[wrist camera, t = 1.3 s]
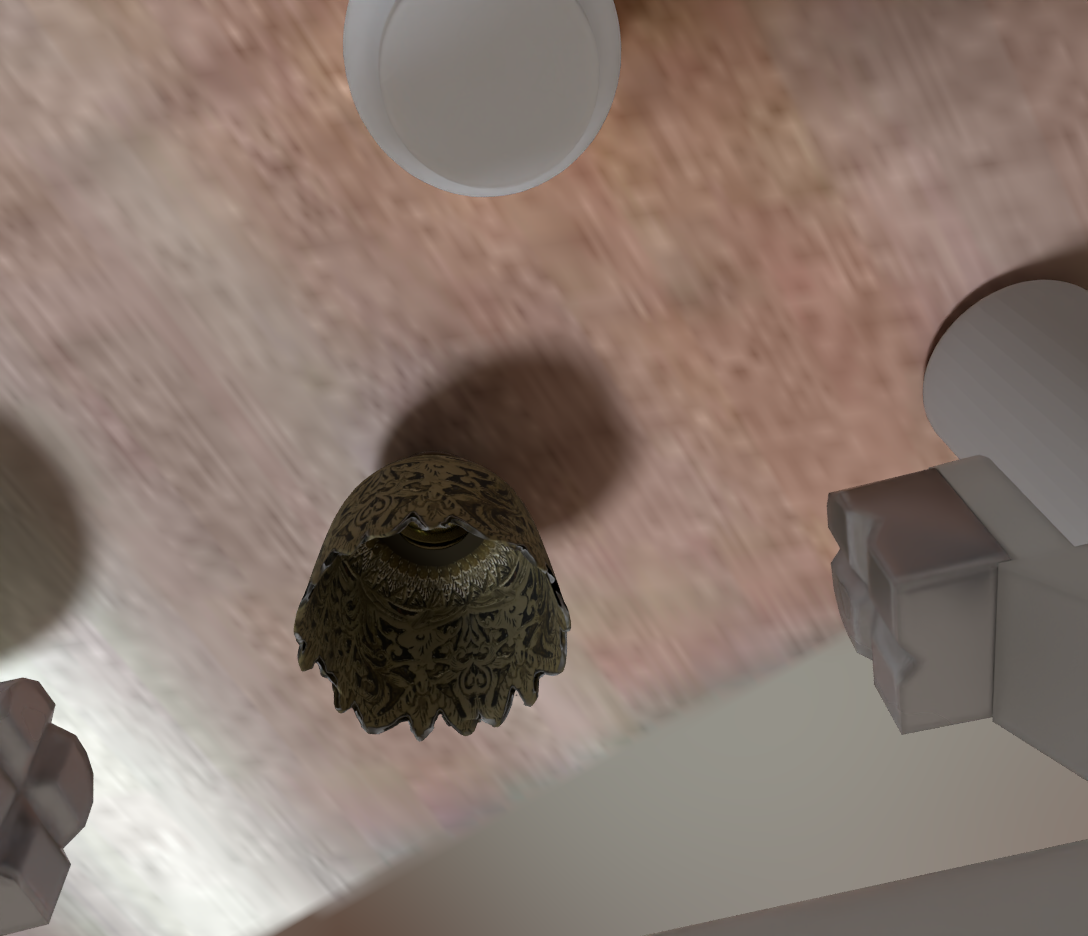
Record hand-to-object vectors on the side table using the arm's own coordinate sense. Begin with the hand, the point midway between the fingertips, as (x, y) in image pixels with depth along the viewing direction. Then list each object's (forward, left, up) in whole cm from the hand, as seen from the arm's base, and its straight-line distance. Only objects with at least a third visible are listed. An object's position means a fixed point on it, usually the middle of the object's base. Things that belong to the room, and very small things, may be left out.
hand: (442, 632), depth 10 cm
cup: (+7, +9, -21) cm, 24 cm away
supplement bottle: (-3, -2, -21) cm, 21 cm away
